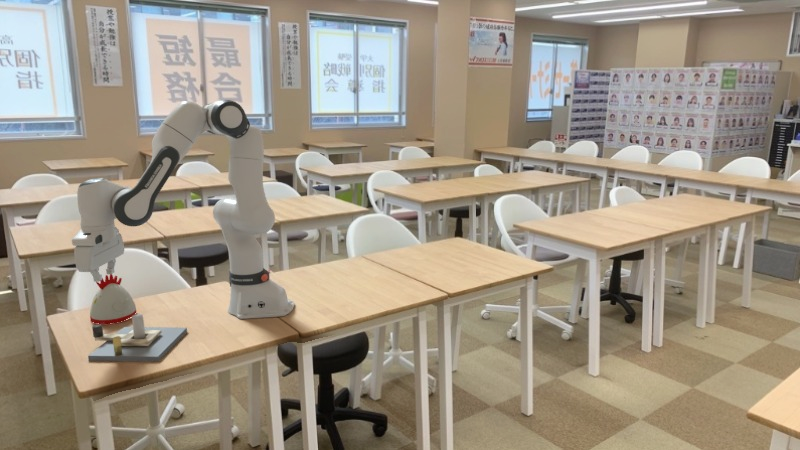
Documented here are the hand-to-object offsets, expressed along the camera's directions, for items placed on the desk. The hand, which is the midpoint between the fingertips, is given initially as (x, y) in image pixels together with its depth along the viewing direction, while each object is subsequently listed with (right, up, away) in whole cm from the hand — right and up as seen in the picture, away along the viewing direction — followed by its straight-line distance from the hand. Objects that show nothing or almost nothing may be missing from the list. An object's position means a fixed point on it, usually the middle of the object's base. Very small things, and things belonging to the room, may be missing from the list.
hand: (104, 277), depth 168 cm
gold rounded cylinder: (+10, -21, -11) cm, 26 cm away
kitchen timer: (-7, -15, +20) cm, 26 cm away
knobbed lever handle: (+7, -18, -3) cm, 20 cm away
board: (+12, -20, -2) cm, 24 cm away
